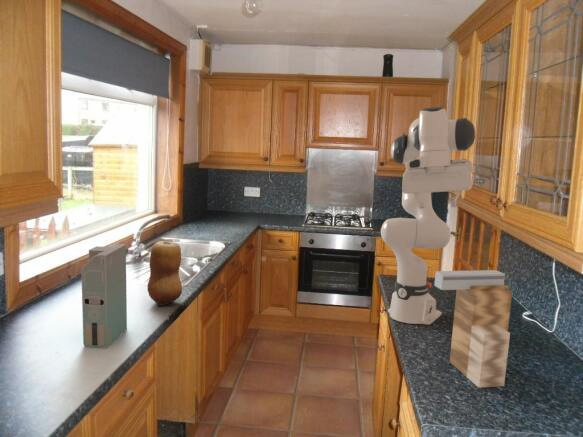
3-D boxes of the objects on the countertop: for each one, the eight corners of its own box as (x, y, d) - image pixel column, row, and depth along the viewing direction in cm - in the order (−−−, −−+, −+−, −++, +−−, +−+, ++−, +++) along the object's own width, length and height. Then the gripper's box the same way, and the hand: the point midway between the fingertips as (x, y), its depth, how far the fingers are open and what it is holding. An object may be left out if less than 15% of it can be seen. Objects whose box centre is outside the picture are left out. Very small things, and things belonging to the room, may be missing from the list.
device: (105, 327, 177) (103, 242, 172) (127, 328, 177) (126, 244, 172) (83, 346, 161) (80, 254, 156) (107, 348, 160) (105, 255, 155)
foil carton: (441, 290, 147) (443, 275, 147) (434, 285, 152) (435, 271, 151) (503, 288, 152) (505, 274, 151) (494, 284, 156) (496, 270, 155)
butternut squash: (184, 307, 200) (184, 245, 196) (149, 310, 195) (148, 246, 191) (178, 296, 213) (178, 238, 209) (145, 299, 208) (144, 239, 204)
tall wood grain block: (478, 387, 145) (488, 296, 140) (449, 362, 160) (457, 279, 156) (516, 385, 147) (527, 294, 143) (483, 360, 163) (492, 278, 159)
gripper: (471, 158, 153) (473, 205, 154) (401, 164, 159) (404, 208, 159) (472, 157, 147) (475, 205, 148) (400, 163, 153) (402, 209, 153)
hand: (437, 207), depth 153 cm, fingers open, 8 cm apart
